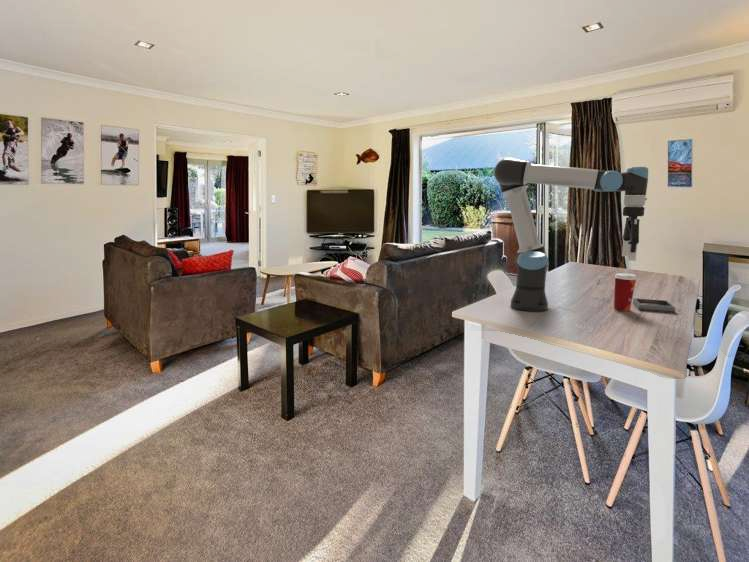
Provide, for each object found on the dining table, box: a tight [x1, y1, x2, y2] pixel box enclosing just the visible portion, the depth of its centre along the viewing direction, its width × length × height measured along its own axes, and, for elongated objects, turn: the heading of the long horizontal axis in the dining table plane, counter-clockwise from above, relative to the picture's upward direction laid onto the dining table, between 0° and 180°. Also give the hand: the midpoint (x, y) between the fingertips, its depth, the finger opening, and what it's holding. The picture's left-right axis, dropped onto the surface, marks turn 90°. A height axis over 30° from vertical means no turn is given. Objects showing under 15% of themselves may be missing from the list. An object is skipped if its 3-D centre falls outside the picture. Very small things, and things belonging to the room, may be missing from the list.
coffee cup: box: [613, 272, 638, 312], centre depth 186 cm, size 8×8×15 cm
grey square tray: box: [632, 297, 676, 314], centre depth 190 cm, size 13×13×2 cm
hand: (628, 258), depth 183 cm, fingers open, 13 cm apart
